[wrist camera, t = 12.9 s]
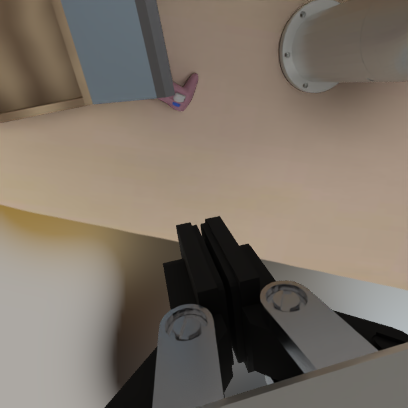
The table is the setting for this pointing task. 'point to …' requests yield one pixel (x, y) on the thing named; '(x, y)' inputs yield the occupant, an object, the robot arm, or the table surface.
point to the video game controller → (182, 94)
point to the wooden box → (38, 61)
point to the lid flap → (120, 49)
